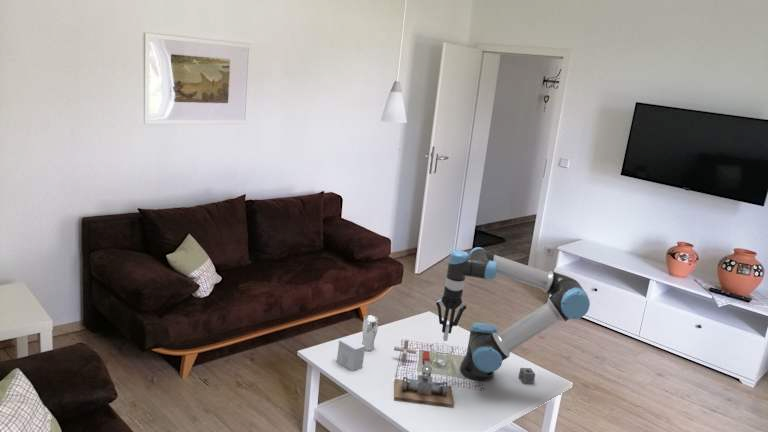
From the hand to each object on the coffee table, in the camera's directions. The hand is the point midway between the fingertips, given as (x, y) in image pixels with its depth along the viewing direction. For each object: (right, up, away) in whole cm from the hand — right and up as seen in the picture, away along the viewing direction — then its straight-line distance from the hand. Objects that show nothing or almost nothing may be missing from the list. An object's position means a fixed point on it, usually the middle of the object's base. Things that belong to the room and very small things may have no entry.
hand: (445, 339), depth 259 cm
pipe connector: (-17, -14, +21) cm, 30 cm away
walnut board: (-10, -22, -5) cm, 24 cm away
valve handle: (-8, -11, -2) cm, 14 cm away
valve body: (-10, -22, -5) cm, 24 cm away
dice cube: (+38, -22, +16) cm, 47 cm away
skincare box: (-41, -13, +11) cm, 44 cm away
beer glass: (-33, -10, +28) cm, 44 cm away
